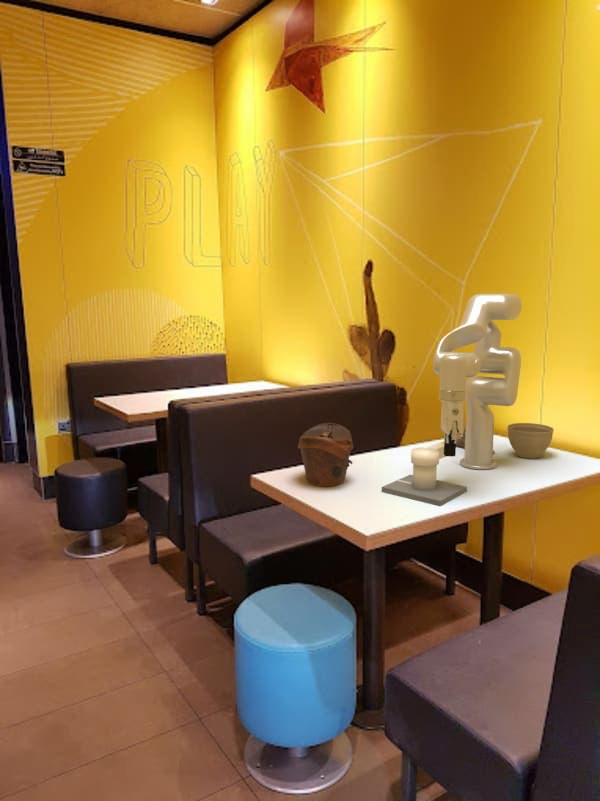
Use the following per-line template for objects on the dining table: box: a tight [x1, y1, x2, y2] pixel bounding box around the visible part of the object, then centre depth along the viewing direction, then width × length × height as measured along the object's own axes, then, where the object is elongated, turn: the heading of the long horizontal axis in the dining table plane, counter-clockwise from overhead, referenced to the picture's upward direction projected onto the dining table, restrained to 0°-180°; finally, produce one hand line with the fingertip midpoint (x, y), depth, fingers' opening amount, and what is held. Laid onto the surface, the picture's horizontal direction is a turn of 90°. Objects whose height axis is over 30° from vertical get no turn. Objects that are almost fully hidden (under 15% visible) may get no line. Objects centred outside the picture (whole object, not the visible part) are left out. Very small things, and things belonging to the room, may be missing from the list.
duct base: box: [381, 463, 468, 507], centre depth 183 cm, size 17×20×9 cm
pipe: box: [456, 425, 466, 448], centre depth 236 cm, size 6×17×10 cm, turn 33°
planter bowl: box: [507, 422, 555, 459], centre depth 222 cm, size 16×16×11 cm
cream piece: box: [410, 440, 447, 466], centre depth 185 cm, size 18×8×4 cm, turn 139°
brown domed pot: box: [297, 422, 354, 487], centre depth 193 cm, size 18×20×18 cm
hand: (449, 455), depth 181 cm, fingers closed
